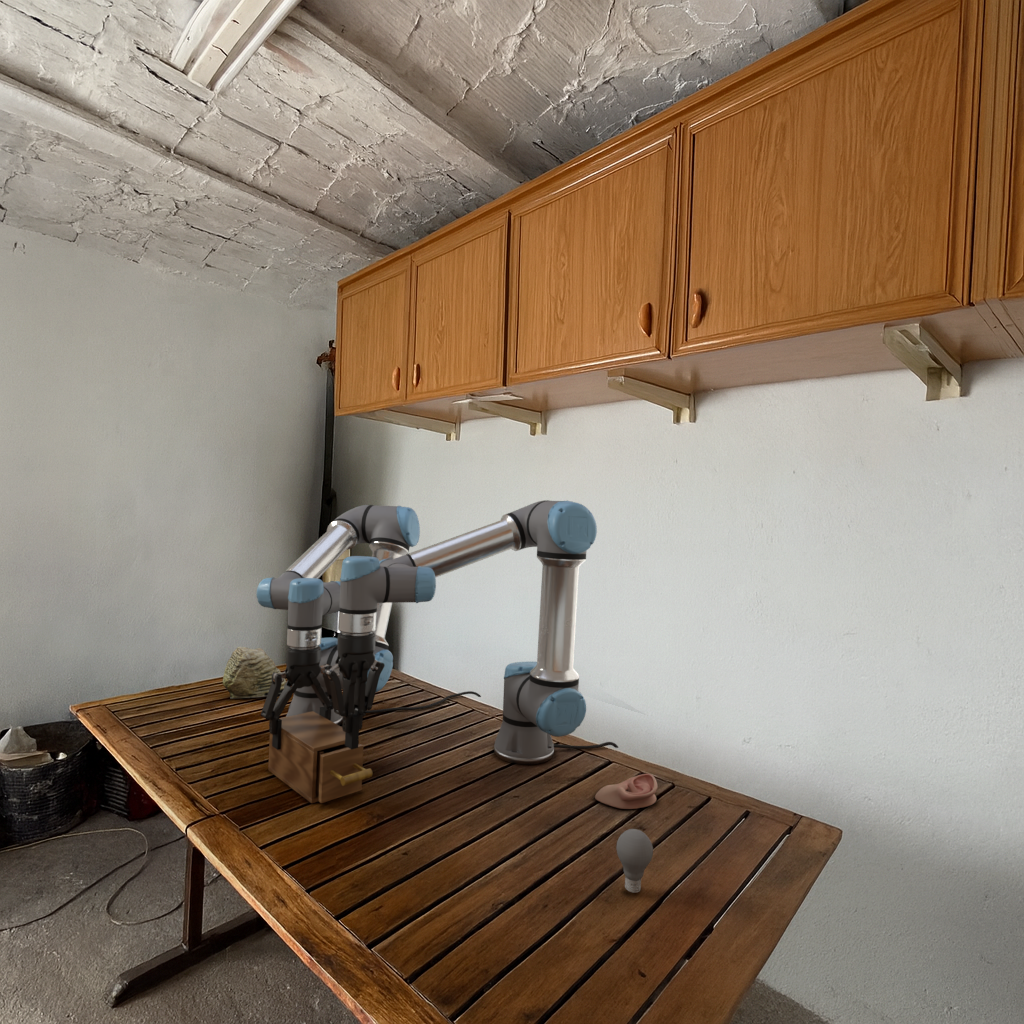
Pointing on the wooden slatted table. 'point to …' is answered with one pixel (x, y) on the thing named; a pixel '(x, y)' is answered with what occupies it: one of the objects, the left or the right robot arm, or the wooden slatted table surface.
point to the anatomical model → (630, 793)
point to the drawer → (340, 772)
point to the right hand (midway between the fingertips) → (351, 746)
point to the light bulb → (634, 857)
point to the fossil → (249, 673)
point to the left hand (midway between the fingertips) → (300, 741)
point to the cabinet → (303, 751)
